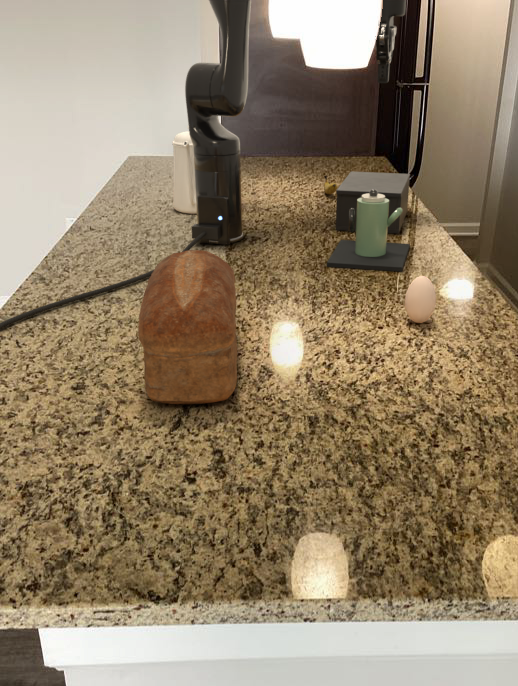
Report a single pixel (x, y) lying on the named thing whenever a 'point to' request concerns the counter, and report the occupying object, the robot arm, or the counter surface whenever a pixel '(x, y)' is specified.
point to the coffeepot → (184, 174)
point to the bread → (189, 329)
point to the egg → (420, 299)
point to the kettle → (372, 224)
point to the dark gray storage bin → (349, 202)
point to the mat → (388, 262)
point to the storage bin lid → (374, 183)
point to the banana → (329, 187)
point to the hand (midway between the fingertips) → (382, 82)
